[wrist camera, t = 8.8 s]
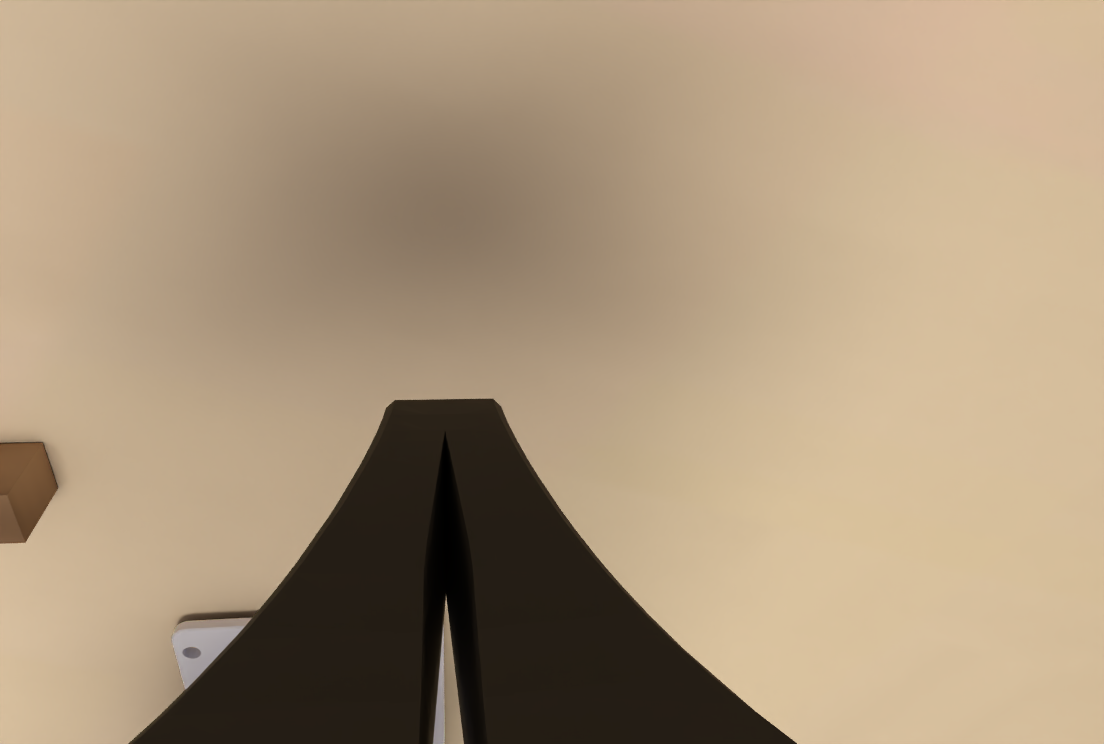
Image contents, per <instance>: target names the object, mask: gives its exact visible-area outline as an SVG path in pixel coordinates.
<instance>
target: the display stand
mask: <svg viewBox="0 0 1104 744" xmlns="http://www.w3.org/2000/svg"><path fill="white" fill-rule="evenodd" d="M57 489H58V487H57V484H56V481H55V478H54V475H53V472H52V470H51V467H50V464H49V461H48V458H47V455H46V452H45V449H44V446H43V443H9V444H0V544H1V543H25V542H26V541H27V539H28V537H29V536H30V534H31V532H32V531H33V529H34V527H35V526H36V524H37V522H38V521H39V519H40V517H41V516H42V514H43V512H44V511H45V509H46V507H47V506H48V504H49V502H50V501H51V499H52V497H53V496H54V494H55V493H56V491H57Z"/></svg>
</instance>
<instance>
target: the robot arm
mask: <svg viewBox="0 0 1104 744" xmlns="http://www.w3.org/2000/svg"><path fill="white" fill-rule="evenodd" d="M446 596H447V605H448V613H449V622H450V630H451V639H452V647H453V655H454V664H455V672H456V680H457V689H458V697H459V705H460V714H461V722H462V730H463V738H464V744H797V743H796V742H794V741H793V740H792V739H790V738H789V737H788V736H787V735H785V734H784V733H783V732H781V731H780V730H779V729H777V728H776V727H775V726H774V725H772V724H771V723H770V722H768V721H767V720H766V719H764V718H763V717H762V716H761V715H759V714H758V713H757V712H755V711H754V710H753V709H752V708H751V707H750V706H748V705H747V704H746V703H745V702H744V701H743V700H741V699H740V698H739V697H738V696H737V695H736V694H735V693H733V692H732V691H731V690H730V689H729V688H728V687H727V686H725V685H724V684H723V683H722V682H721V681H720V680H718V679H717V678H716V677H715V676H714V675H713V674H712V673H710V672H709V671H708V670H707V669H706V668H705V667H704V666H702V665H701V664H700V663H699V662H698V661H697V660H695V659H694V658H693V657H692V656H691V655H690V654H689V653H687V652H686V651H685V650H684V649H683V648H682V647H681V646H680V645H679V644H678V643H677V642H676V641H675V640H674V639H673V638H672V637H671V636H670V635H669V634H668V633H667V632H666V631H665V630H664V629H663V628H662V627H661V626H660V625H659V624H658V623H657V622H656V621H654V620H653V619H652V618H651V617H650V616H649V615H648V614H647V613H646V611H645V610H644V609H643V608H642V607H641V606H640V605H639V604H638V603H637V602H636V601H635V600H634V599H633V598H632V596H631V595H630V594H629V593H628V592H627V591H626V590H625V589H624V588H623V587H622V586H621V585H620V583H619V582H618V581H617V580H616V579H615V578H614V577H613V575H612V574H611V573H610V572H609V571H608V570H607V569H606V567H605V566H604V565H603V564H602V563H601V561H600V560H599V559H598V558H597V557H596V555H595V554H594V553H593V552H592V550H591V549H590V548H589V546H588V545H587V544H586V543H585V541H584V540H583V539H582V538H581V536H580V535H579V534H578V532H577V531H576V530H575V529H574V527H573V526H572V525H571V523H570V522H569V520H568V519H567V518H566V516H565V515H564V514H563V512H562V511H561V509H560V508H559V507H558V505H557V504H556V502H555V501H554V499H553V498H552V496H551V495H550V493H549V492H548V490H547V489H546V487H545V486H544V484H543V483H542V481H541V480H540V478H539V477H538V475H537V474H536V472H535V470H534V469H533V467H532V466H531V464H530V462H529V461H528V459H527V457H526V456H525V454H524V452H523V450H522V449H521V447H520V445H519V443H518V442H517V440H516V438H515V436H514V434H513V432H512V430H511V428H510V426H509V424H508V422H507V420H506V417H505V415H504V413H503V410H502V408H501V406H500V405H499V404H498V403H497V402H496V401H495V400H494V399H444V400H395V401H394V402H393V403H391V404H390V405H389V406H388V407H387V408H386V410H385V413H384V416H383V419H382V421H381V424H380V426H379V429H378V431H377V433H376V435H375V437H374V439H373V442H372V444H371V446H370V448H369V449H368V451H367V453H366V455H365V457H364V459H363V461H362V463H361V465H360V466H359V468H358V470H357V472H356V473H355V475H354V477H353V478H352V480H351V482H350V483H349V485H348V487H347V488H346V490H345V492H344V493H343V495H342V497H341V498H340V500H339V502H338V503H337V505H336V507H335V508H334V510H333V511H332V513H331V514H330V516H329V517H328V519H327V520H326V522H325V523H324V524H323V526H322V527H321V529H320V530H319V532H318V533H317V534H316V536H315V537H314V539H313V540H312V542H311V543H310V544H309V546H308V547H307V549H306V550H305V552H304V553H303V554H302V556H301V557H300V559H299V560H298V562H297V563H296V564H295V566H294V567H293V568H292V569H291V571H290V572H289V573H288V575H287V576H286V577H285V579H284V580H283V581H282V582H281V584H280V585H279V586H278V587H277V589H276V590H275V591H274V592H273V594H272V595H271V596H270V597H269V599H268V600H267V601H266V602H265V603H264V605H263V606H262V607H261V608H260V609H259V610H258V612H257V613H256V614H255V615H254V616H253V617H251V618H232V619H212V620H193V621H185V622H182V623H180V624H178V625H177V626H176V627H175V629H174V632H173V635H172V645H173V648H174V652H175V656H176V659H177V663H178V666H179V670H180V674H181V677H182V681H183V684H184V688H185V691H184V692H183V693H182V694H181V695H180V696H179V697H178V698H177V699H176V700H175V701H174V702H173V703H172V704H171V705H170V706H169V707H168V708H167V709H166V710H165V711H164V712H163V713H162V714H161V715H160V716H158V717H157V718H156V719H155V720H154V721H153V722H152V723H151V724H150V725H149V726H147V727H146V728H145V729H144V730H143V731H142V732H141V733H140V734H139V735H138V736H137V737H135V738H134V739H133V740H132V741H131V742H130V743H129V744H445V714H444V611H445V600H446ZM193 647H195V648H193Z"/></svg>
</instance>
